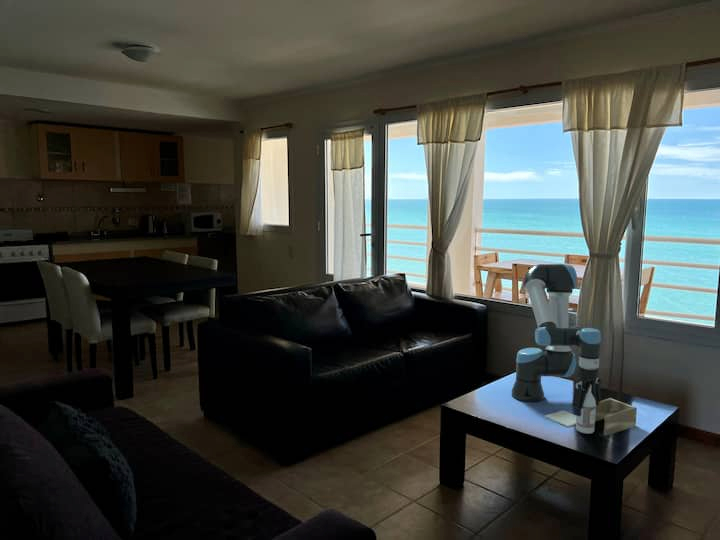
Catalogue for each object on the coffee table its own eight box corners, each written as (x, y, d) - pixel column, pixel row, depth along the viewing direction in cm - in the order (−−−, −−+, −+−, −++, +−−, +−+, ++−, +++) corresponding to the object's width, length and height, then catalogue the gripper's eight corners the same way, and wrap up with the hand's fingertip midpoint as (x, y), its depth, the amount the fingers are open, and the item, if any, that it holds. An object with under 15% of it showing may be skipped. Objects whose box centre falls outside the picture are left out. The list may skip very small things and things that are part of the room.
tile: (544, 416, 226) (544, 415, 226) (563, 411, 232) (563, 410, 232) (567, 427, 216) (567, 425, 216) (586, 421, 221) (586, 419, 221)
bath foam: (587, 435, 206) (590, 387, 203) (572, 429, 212) (574, 382, 209) (597, 431, 210) (600, 384, 207) (582, 425, 215) (584, 379, 213)
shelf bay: (580, 424, 218) (581, 406, 217) (609, 415, 228) (610, 398, 226) (606, 435, 208) (607, 417, 207) (635, 425, 217) (636, 407, 216)
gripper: (580, 373, 199) (577, 429, 202) (612, 365, 208) (609, 419, 211) (564, 368, 205) (561, 422, 208) (596, 360, 215) (593, 412, 218)
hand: (585, 420), depth 210 cm, fingers closed on bath foam, 7 cm apart
